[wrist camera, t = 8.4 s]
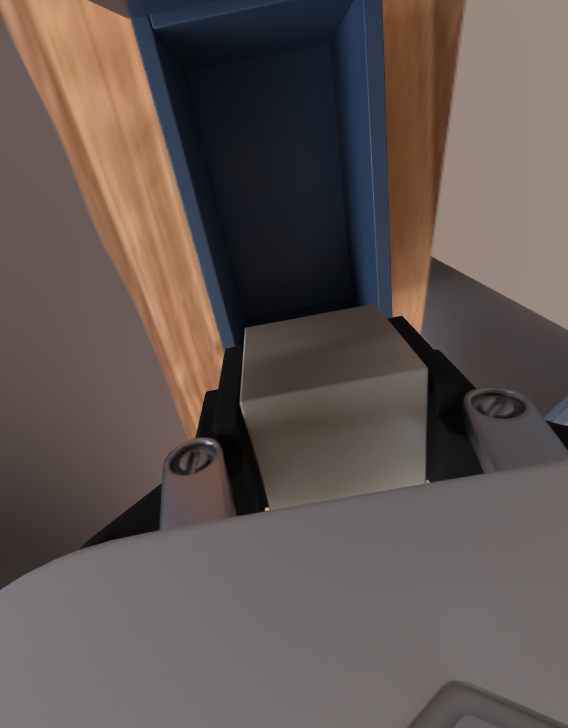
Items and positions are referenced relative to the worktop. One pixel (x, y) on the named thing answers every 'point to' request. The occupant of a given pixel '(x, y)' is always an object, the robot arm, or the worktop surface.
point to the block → (334, 406)
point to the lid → (144, 6)
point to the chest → (277, 152)
